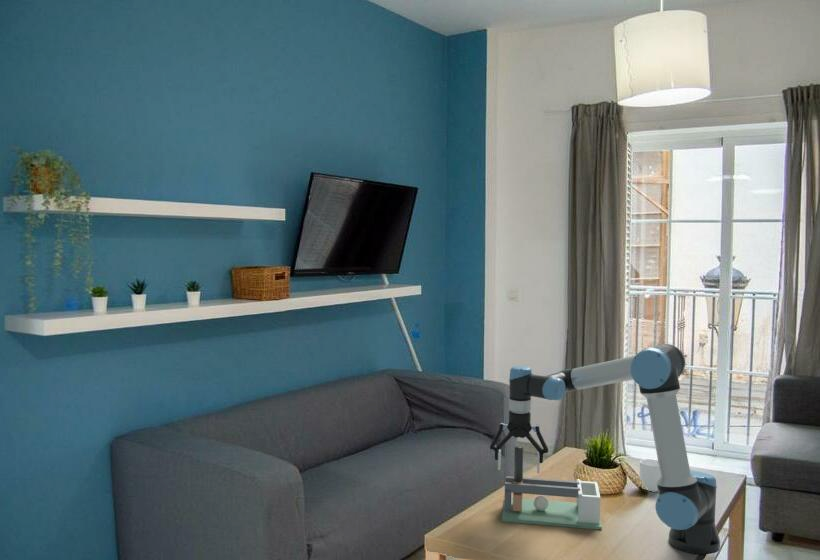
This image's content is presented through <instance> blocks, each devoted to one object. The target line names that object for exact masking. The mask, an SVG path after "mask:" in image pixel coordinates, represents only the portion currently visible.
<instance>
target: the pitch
mask: <svg viewBox="0 0 820 560" xmlns="http://www.w3.org/2000/svg"><path fill="white" fill-rule="evenodd" d="M513 493H523V495H524V494H526V495H535V496H536V495H537V496H550V497H565V498H575V499H576V502H574V501H573V502H572V501H571V502H570V501H560V500H559V501H557V500H548V499H547V501H548V507H547V509H546V510H544V511H539V510H537V509H536V508H535V506H534V500H535V498H523V502H522V512H521V511H513V497H512V494H513ZM600 494H601V493H600V488H599V484H598V482H597V481H588V480H587V481H585V480H581V478H580V479H579V478H577V479H576V480H564V479H561V480H560V479H549V478H548V479H547V478H539V477H538V478H536V477H534V478H533V477H523V483H514V476H510V475H508V476H505V482H504V501H503V508H502V514H501V515H502V516H501V522H504V523H505V522H506V523H516V524H517V523H518V524H527V525H528V524H529V525H541V526H550V527H562V526H563V527H564V528H575V529H576V528H578V529H588V530H598V529H602V530H603V525H602V522H601V521H602V520H601V495H600Z"/></svg>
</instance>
